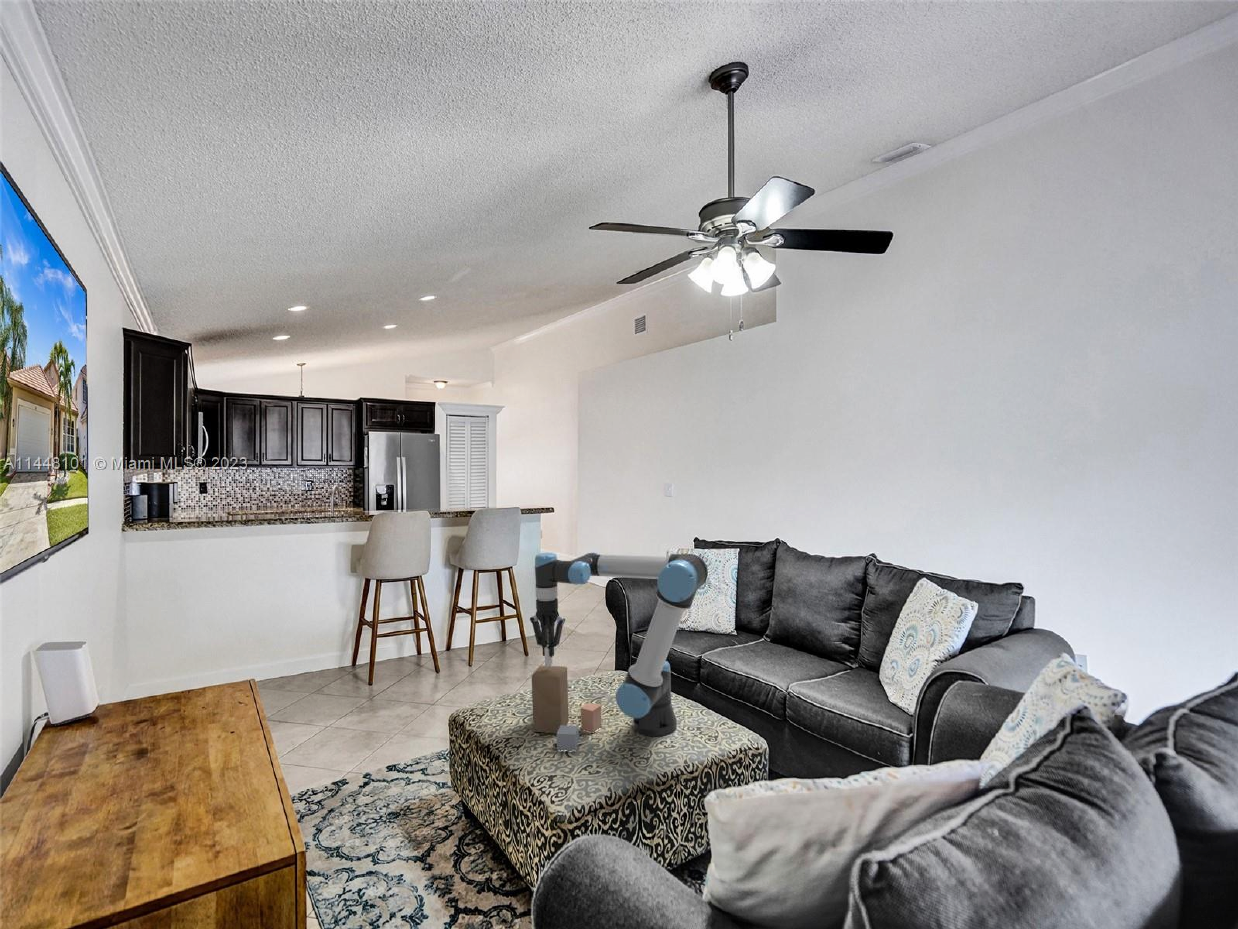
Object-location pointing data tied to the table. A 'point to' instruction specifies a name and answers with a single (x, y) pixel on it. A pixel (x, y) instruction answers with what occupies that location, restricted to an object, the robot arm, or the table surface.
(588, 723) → the terracotta block
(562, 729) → the slate cube
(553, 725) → the wooden block
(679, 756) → the table surface
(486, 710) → the table surface
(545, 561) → the robot arm
